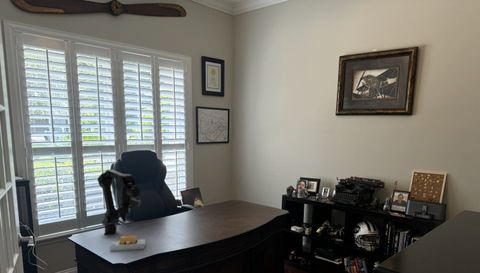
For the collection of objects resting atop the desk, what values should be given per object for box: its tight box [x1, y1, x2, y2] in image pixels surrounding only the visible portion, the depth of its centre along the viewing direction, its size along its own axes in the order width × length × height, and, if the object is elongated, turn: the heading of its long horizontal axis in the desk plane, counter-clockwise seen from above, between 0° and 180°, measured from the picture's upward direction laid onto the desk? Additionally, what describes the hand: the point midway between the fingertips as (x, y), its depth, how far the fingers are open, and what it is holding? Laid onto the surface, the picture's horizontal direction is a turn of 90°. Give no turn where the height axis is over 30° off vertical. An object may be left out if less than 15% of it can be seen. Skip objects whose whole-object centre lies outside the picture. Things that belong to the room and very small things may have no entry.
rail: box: [109, 238, 146, 252], centre depth 161 cm, size 18×7×3 cm, turn 102°
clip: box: [119, 235, 137, 244], centre depth 161 cm, size 8×3×6 cm, turn 102°
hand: (126, 219), depth 174 cm, fingers open, 9 cm apart
